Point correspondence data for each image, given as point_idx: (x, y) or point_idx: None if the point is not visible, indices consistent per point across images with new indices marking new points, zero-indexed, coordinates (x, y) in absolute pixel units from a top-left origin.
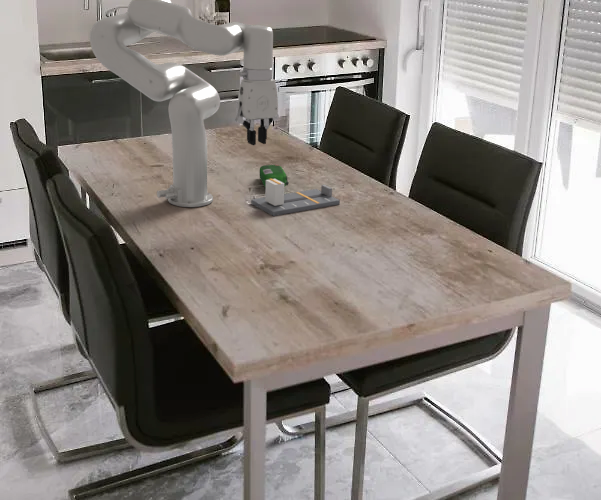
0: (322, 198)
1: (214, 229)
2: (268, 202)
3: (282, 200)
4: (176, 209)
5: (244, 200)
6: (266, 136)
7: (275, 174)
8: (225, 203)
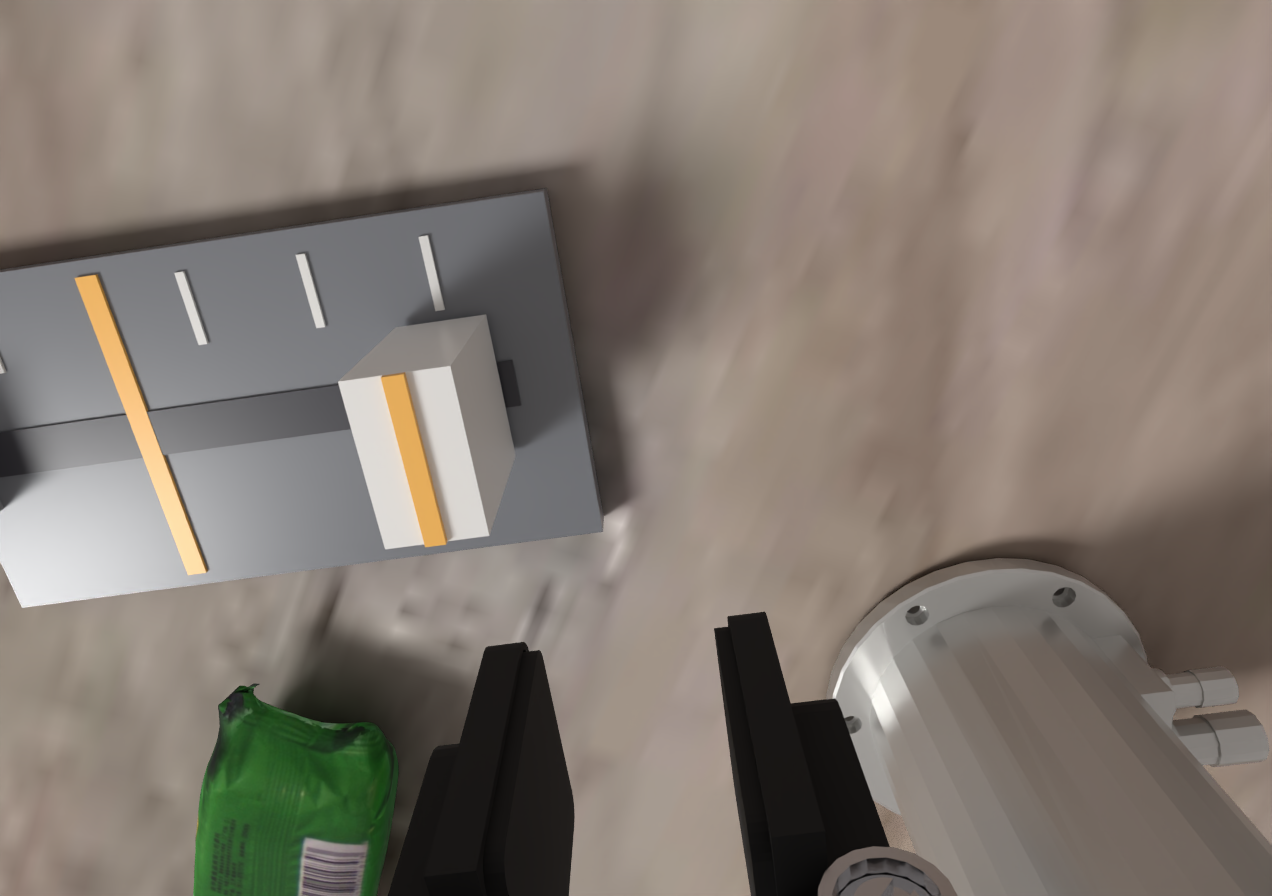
0: (21, 381)
1: (1141, 34)
2: None
3: (401, 334)
4: (1152, 563)
5: (623, 592)
6: (428, 785)
7: (289, 814)
8: (778, 575)
